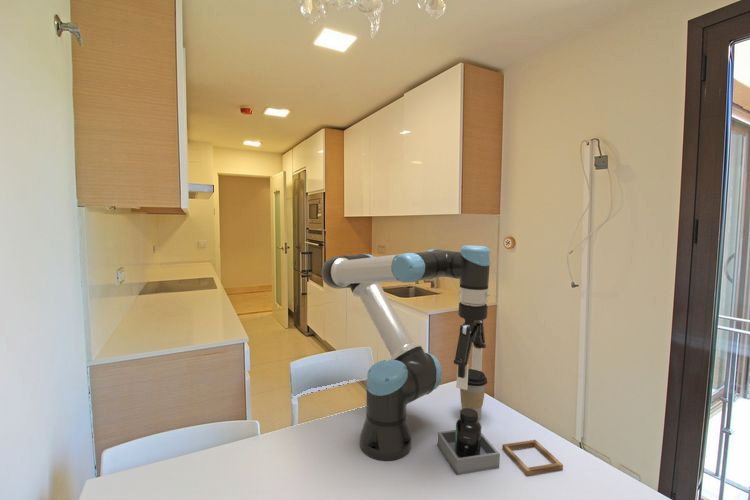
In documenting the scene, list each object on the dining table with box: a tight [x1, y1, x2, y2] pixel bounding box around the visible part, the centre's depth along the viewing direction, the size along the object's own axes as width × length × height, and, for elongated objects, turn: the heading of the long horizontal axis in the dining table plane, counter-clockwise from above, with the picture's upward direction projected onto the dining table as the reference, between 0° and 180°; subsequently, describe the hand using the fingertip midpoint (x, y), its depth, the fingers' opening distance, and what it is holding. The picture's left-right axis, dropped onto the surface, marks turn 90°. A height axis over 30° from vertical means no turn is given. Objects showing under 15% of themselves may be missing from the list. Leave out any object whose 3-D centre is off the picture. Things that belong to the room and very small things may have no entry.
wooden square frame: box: [501, 439, 564, 477], centre depth 99 cm, size 11×11×2 cm
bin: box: [437, 429, 501, 476], centre depth 99 cm, size 12×12×4 cm
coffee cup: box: [459, 368, 488, 421], centre depth 119 cm, size 9×9×15 cm
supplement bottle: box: [455, 408, 482, 458], centre depth 99 cm, size 7×7×12 cm
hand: (469, 378), depth 98 cm, fingers open, 13 cm apart
